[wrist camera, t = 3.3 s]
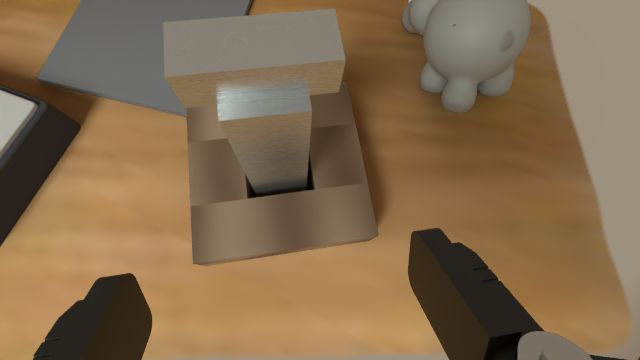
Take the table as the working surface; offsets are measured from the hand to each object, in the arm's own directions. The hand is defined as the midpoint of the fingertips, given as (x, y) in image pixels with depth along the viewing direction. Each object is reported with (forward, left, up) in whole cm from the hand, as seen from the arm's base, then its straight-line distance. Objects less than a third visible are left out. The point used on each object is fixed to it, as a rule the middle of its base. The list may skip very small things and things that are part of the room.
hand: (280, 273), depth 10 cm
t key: (-3, +7, -14) cm, 16 cm away
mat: (-17, +17, -14) cm, 28 cm away
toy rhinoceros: (+8, +21, -15) cm, 27 cm away
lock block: (-3, +7, -14) cm, 16 cm away
